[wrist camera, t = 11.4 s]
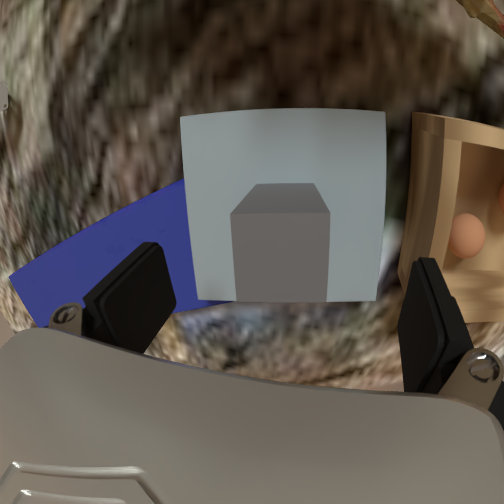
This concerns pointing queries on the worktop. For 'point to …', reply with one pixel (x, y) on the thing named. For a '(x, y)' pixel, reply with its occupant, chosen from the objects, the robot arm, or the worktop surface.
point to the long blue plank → (113, 255)
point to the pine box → (457, 209)
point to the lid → (285, 203)
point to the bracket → (3, 96)
